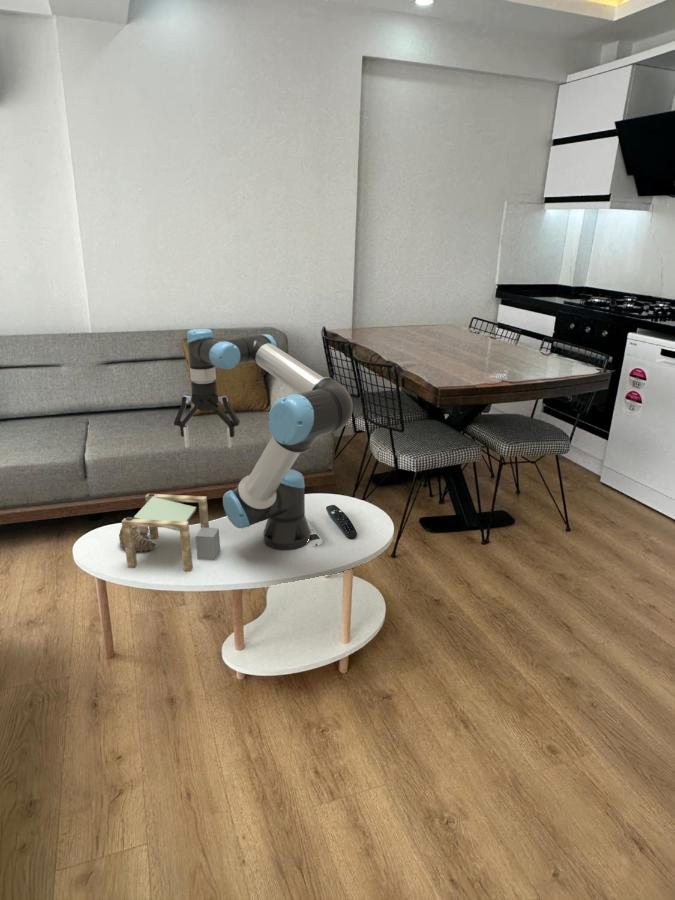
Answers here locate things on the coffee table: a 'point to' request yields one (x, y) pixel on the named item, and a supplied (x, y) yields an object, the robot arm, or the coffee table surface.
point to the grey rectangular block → (208, 543)
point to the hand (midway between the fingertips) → (208, 446)
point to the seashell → (139, 538)
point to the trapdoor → (165, 511)
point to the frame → (154, 525)
